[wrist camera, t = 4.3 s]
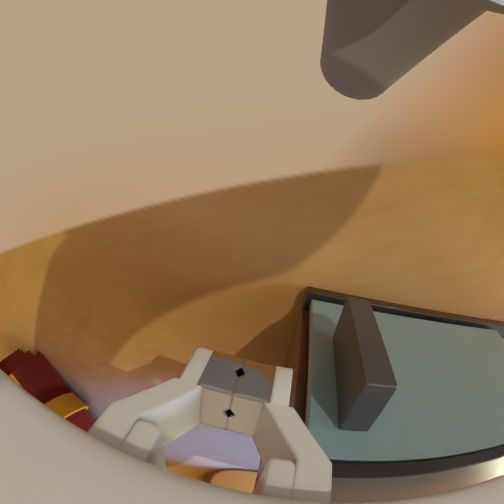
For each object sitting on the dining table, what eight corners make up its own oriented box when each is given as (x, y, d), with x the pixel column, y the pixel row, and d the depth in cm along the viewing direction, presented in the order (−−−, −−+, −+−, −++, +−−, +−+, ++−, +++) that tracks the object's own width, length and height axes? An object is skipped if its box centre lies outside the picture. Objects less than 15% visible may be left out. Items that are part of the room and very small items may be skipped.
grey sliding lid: (321, 262, 17) (333, 412, 6) (509, 302, 15) (584, 389, 4) (309, 306, 18) (300, 463, 7) (493, 336, 16) (554, 430, 5)
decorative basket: (26, 307, 30) (-53, 346, 16) (170, 466, 28) (110, 542, 14) (22, 389, 42) (-20, 416, 28) (110, 483, 40) (74, 521, 26)
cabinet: (306, 286, 19) (293, 473, 6) (535, 326, 16) (600, 409, 3) (271, 405, 23) (241, 537, 10) (477, 416, 20) (507, 502, 7)
